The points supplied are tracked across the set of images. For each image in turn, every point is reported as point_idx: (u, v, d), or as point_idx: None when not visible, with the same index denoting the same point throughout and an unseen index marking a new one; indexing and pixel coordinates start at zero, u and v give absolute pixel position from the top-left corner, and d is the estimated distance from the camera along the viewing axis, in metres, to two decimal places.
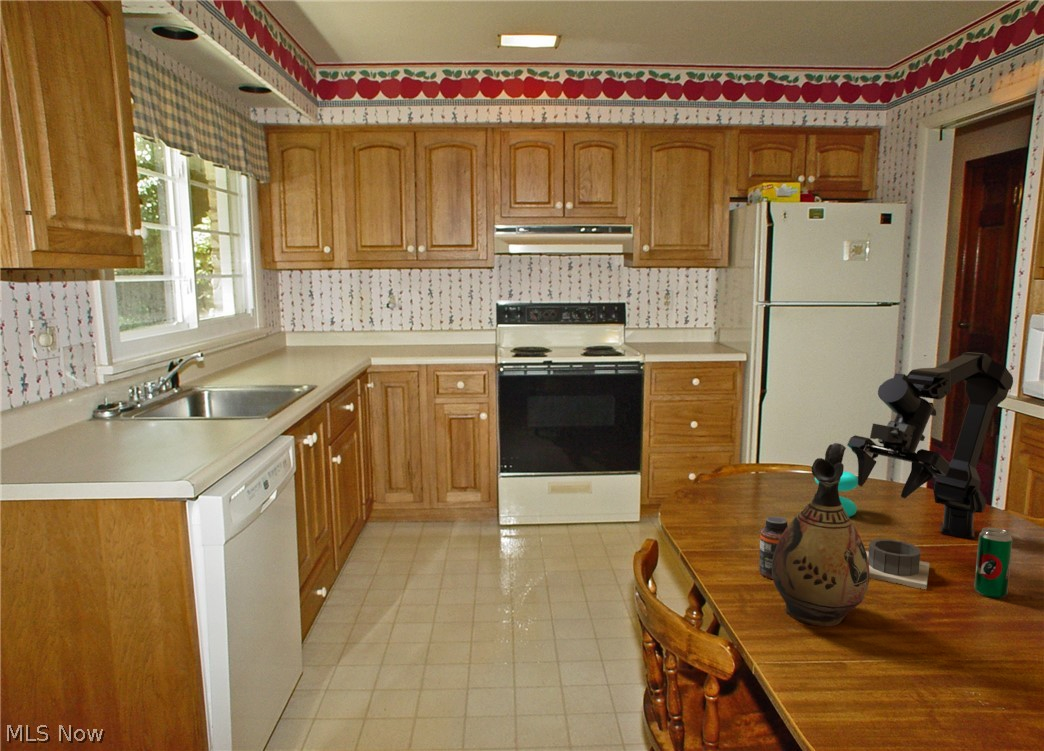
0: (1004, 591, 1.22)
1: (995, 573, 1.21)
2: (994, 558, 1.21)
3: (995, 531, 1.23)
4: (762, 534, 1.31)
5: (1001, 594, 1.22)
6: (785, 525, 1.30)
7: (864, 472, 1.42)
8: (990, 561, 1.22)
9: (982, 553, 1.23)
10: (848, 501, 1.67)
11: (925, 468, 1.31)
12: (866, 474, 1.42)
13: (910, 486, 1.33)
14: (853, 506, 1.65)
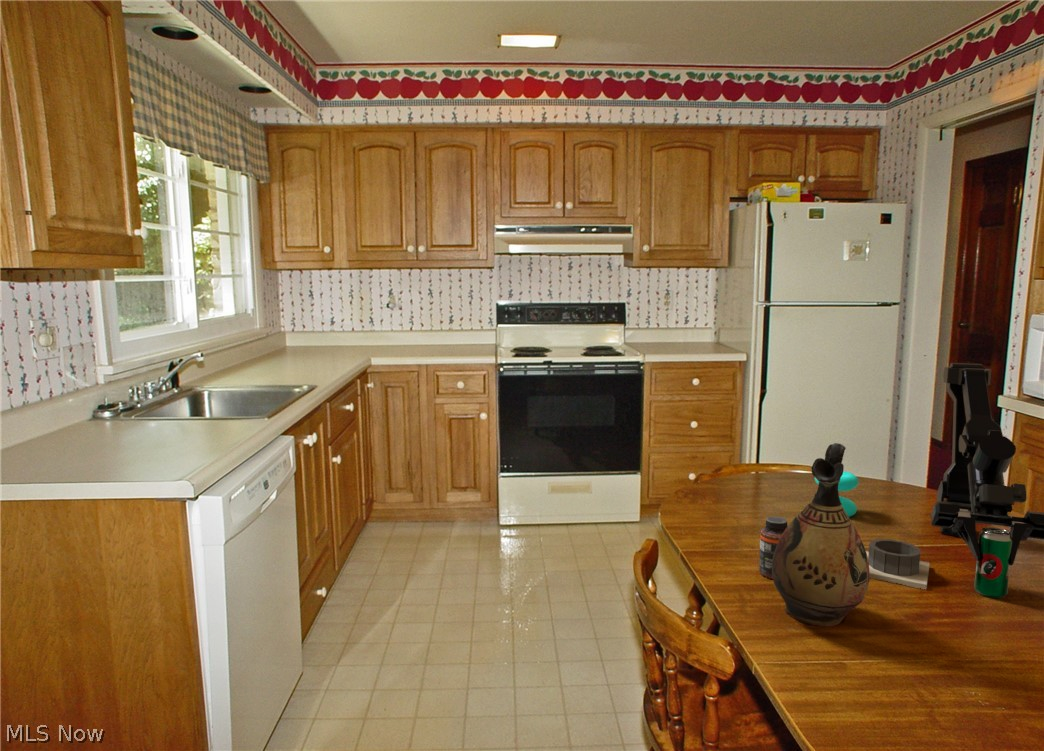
0: (1004, 591, 1.22)
1: (995, 573, 1.21)
2: (994, 558, 1.21)
3: (995, 531, 1.23)
4: (762, 534, 1.31)
5: (1001, 594, 1.22)
6: (785, 525, 1.30)
7: None
8: (990, 561, 1.22)
9: (983, 553, 1.23)
10: (848, 501, 1.67)
11: (1028, 529, 1.22)
12: None
13: (1016, 551, 1.22)
14: (853, 506, 1.65)
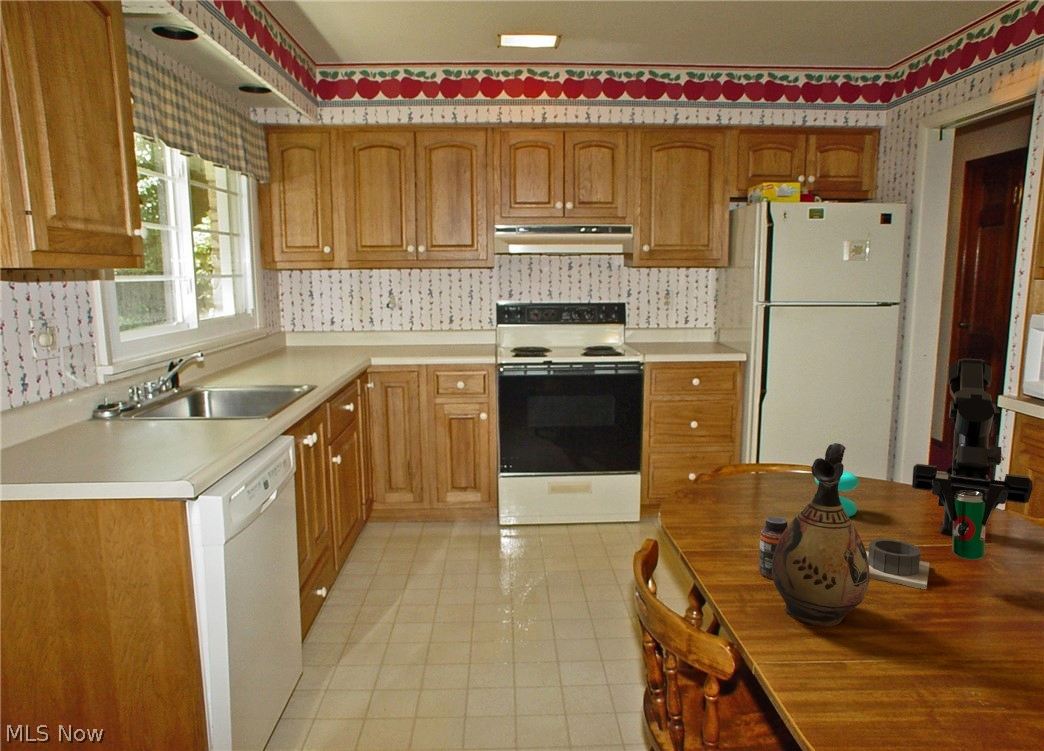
0: (979, 552, 1.23)
1: (968, 535, 1.23)
2: (967, 519, 1.23)
3: (969, 493, 1.24)
4: (762, 534, 1.31)
5: (976, 555, 1.23)
6: (785, 525, 1.30)
7: (952, 505, 1.26)
8: (963, 523, 1.23)
9: (956, 515, 1.24)
10: (848, 501, 1.67)
11: (1004, 492, 1.23)
12: None
13: (990, 512, 1.23)
14: (853, 506, 1.65)
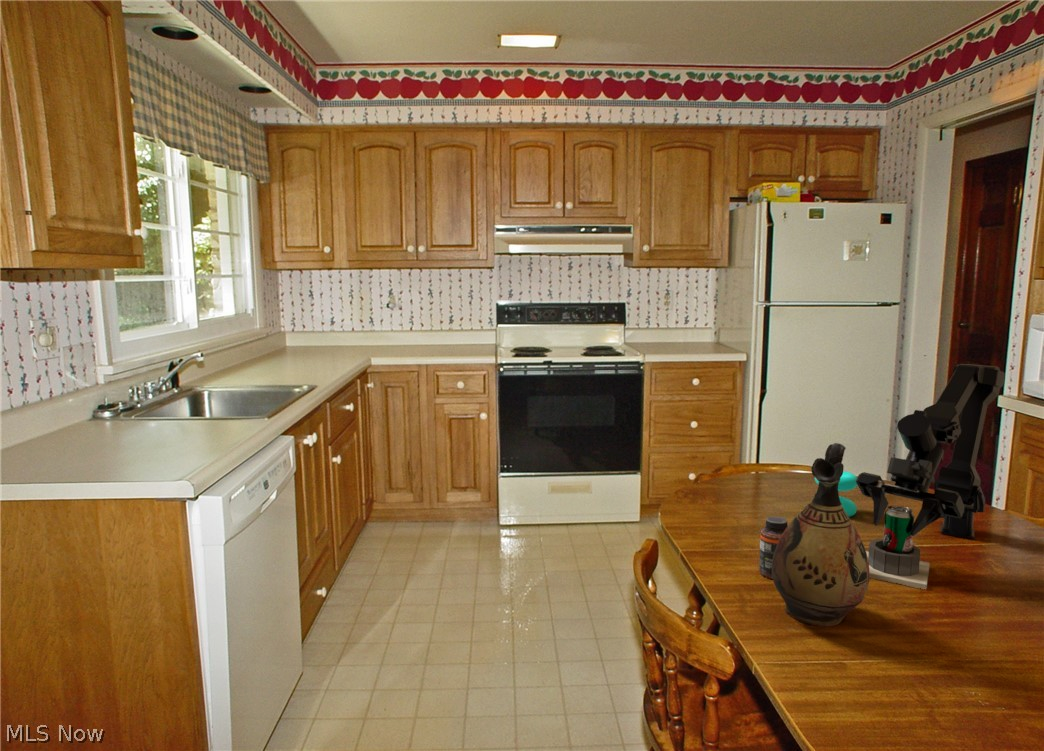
0: None
1: (891, 546, 1.32)
2: (890, 532, 1.31)
3: (899, 509, 1.32)
4: (762, 534, 1.31)
5: None
6: (785, 525, 1.30)
7: (879, 511, 1.36)
8: (887, 535, 1.32)
9: (884, 527, 1.33)
10: (848, 501, 1.67)
11: (937, 505, 1.28)
12: (881, 514, 1.36)
13: (920, 523, 1.29)
14: (853, 506, 1.65)
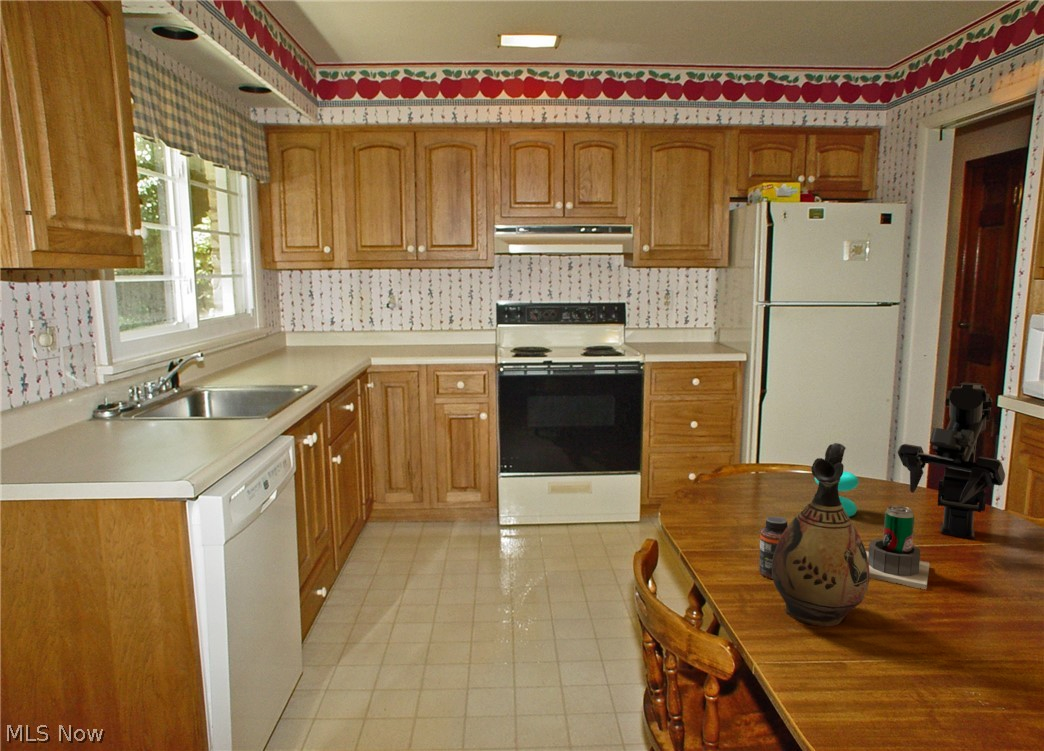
0: None
1: (891, 546, 1.32)
2: (890, 532, 1.31)
3: (899, 509, 1.32)
4: (762, 534, 1.31)
5: None
6: (785, 525, 1.30)
7: (916, 479, 1.42)
8: (887, 535, 1.32)
9: (884, 527, 1.33)
10: (848, 501, 1.67)
11: (985, 474, 1.33)
12: (917, 481, 1.42)
13: (969, 491, 1.34)
14: (853, 506, 1.65)
